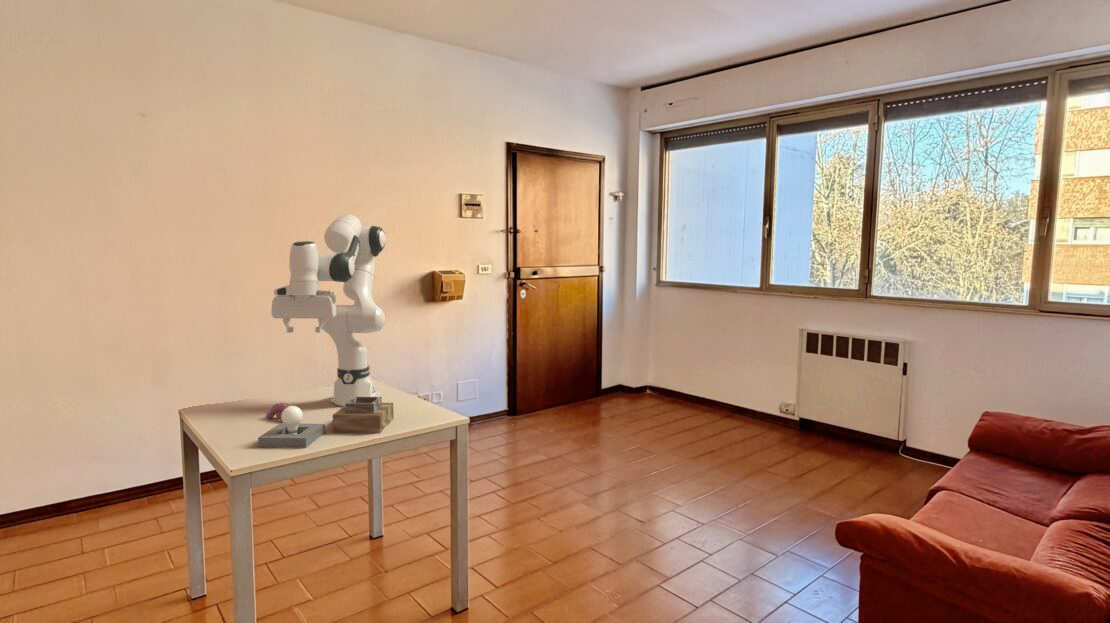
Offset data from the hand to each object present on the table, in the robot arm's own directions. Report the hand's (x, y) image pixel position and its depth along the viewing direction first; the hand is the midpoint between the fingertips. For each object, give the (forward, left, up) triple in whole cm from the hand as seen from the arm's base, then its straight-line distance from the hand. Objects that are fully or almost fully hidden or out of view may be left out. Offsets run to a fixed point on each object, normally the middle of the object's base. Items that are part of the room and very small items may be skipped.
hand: (304, 332), depth 197 cm
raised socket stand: (-9, +16, -34) cm, 39 cm away
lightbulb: (+7, -2, -34) cm, 35 cm away
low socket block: (+7, -2, -34) cm, 35 cm away
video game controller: (-15, -16, -34) cm, 41 cm away
